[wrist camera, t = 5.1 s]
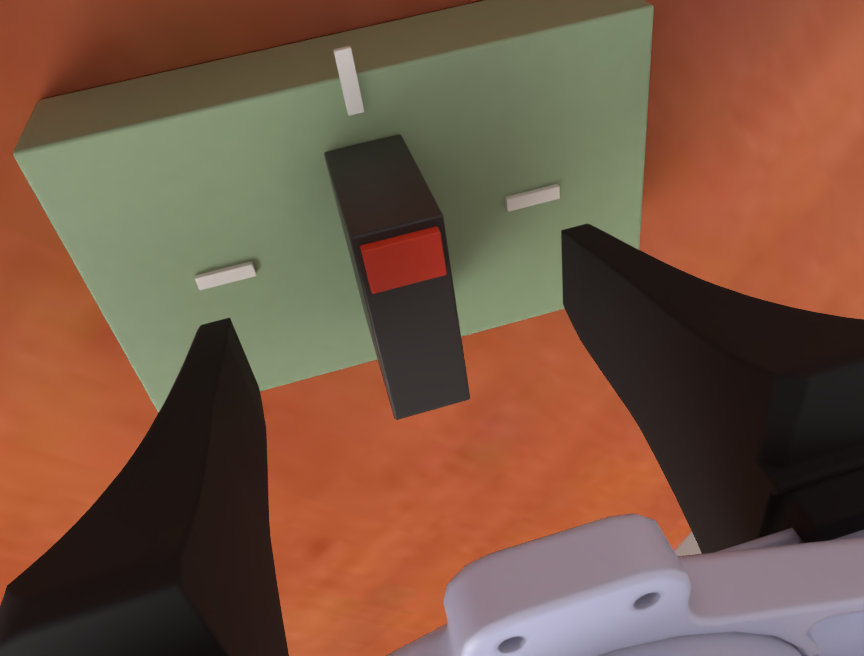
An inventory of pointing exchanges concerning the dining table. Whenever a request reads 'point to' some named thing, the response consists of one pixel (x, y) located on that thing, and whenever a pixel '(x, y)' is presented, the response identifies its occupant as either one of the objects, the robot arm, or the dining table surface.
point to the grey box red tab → (401, 273)
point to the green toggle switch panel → (311, 186)
